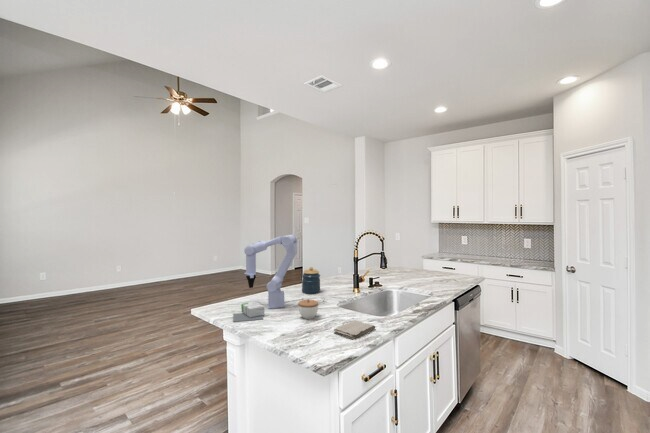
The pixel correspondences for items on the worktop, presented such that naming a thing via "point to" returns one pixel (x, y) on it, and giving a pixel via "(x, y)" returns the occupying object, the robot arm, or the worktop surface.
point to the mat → (245, 317)
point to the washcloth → (354, 330)
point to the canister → (311, 281)
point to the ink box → (252, 309)
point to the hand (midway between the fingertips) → (251, 287)
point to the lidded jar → (308, 308)
